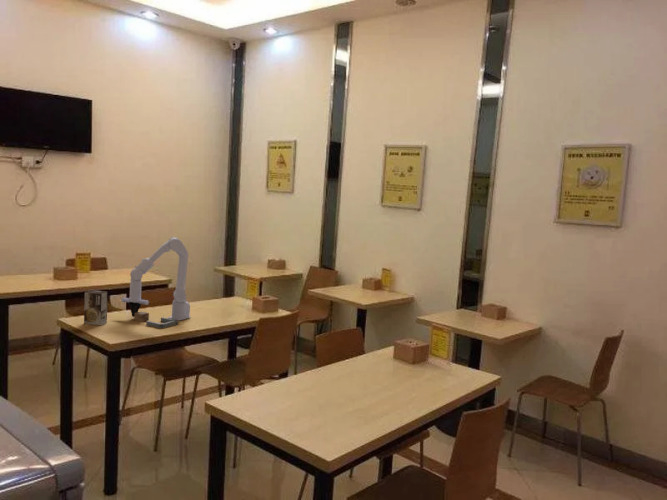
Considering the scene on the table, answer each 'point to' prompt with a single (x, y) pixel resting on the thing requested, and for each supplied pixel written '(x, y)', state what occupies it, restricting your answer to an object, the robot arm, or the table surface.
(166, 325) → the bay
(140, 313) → the walnut block
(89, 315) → the coffee box
